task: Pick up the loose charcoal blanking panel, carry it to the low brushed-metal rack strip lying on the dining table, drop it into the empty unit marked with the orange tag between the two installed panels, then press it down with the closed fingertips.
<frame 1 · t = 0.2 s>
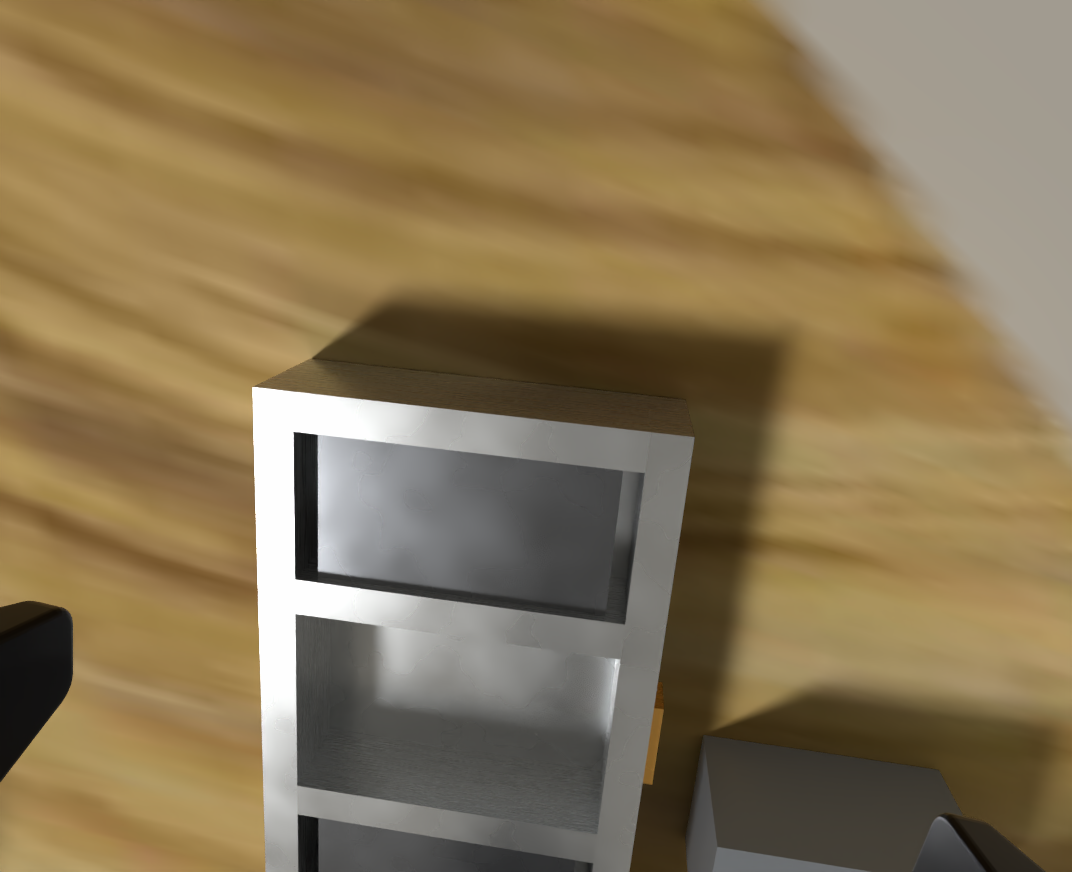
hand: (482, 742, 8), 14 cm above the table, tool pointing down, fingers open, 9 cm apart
panel: (806, 802, 24), on the table
rack: (475, 653, 24), on the table
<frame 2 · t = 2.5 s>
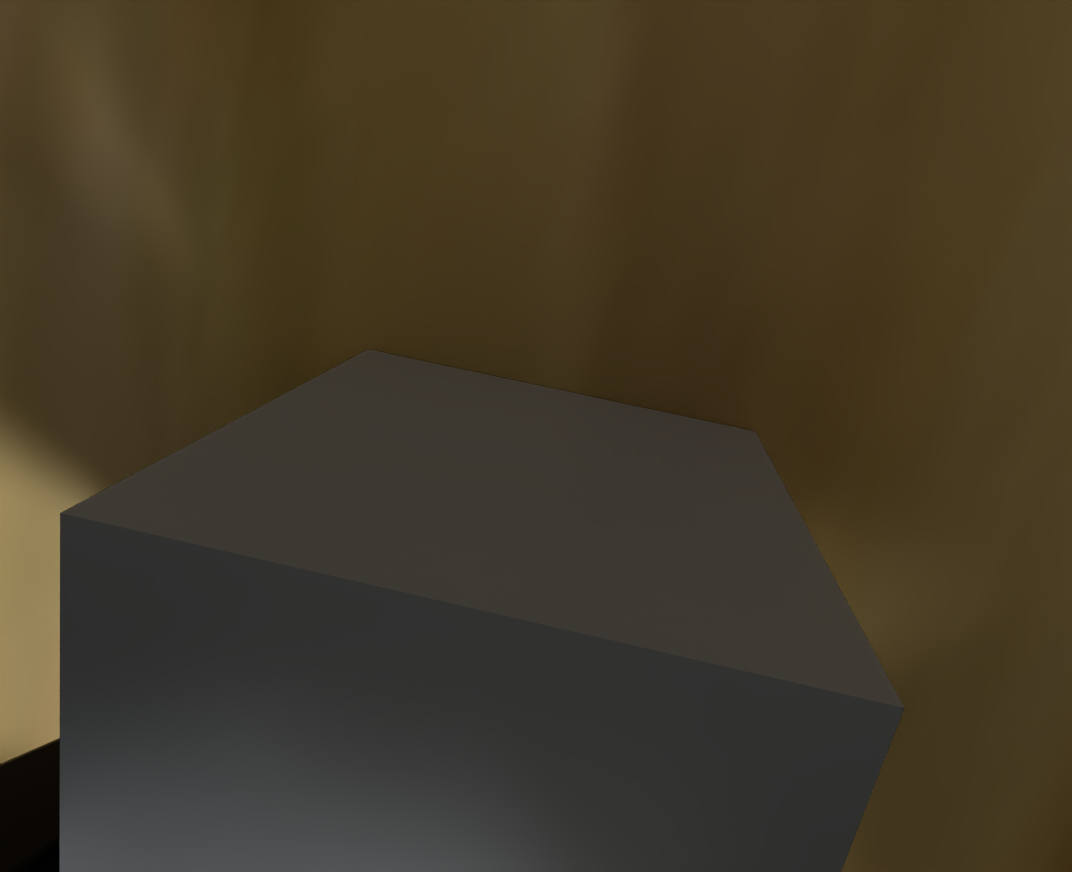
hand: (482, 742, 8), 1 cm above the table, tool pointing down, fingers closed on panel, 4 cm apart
panel: (499, 681, 9), on the table, touching gripper
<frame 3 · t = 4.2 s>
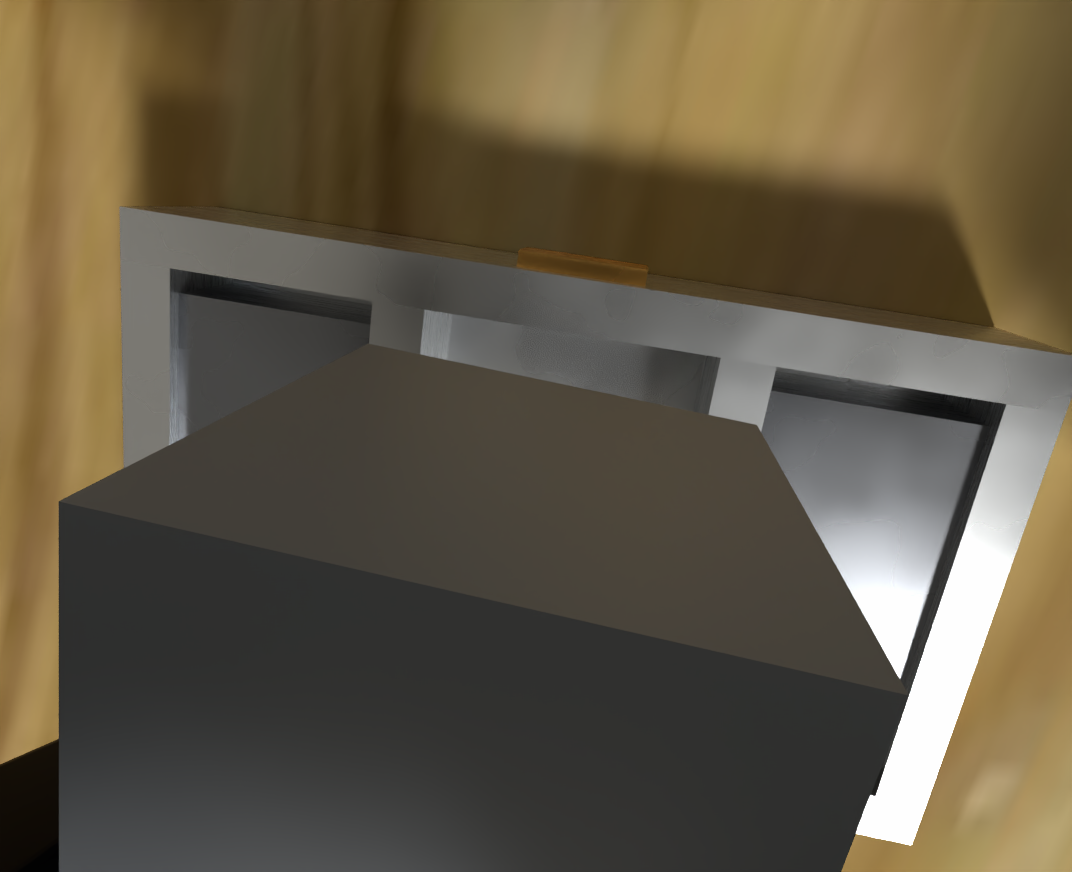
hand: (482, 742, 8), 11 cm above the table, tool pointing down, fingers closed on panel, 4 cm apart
panel: (500, 677, 9), point 10 cm above the table, touching gripper
rack: (555, 484, 19), on the table
when the fingers open (3 cm above the table, at t = 6.0 s): panel drops 1 cm, resting on rack.
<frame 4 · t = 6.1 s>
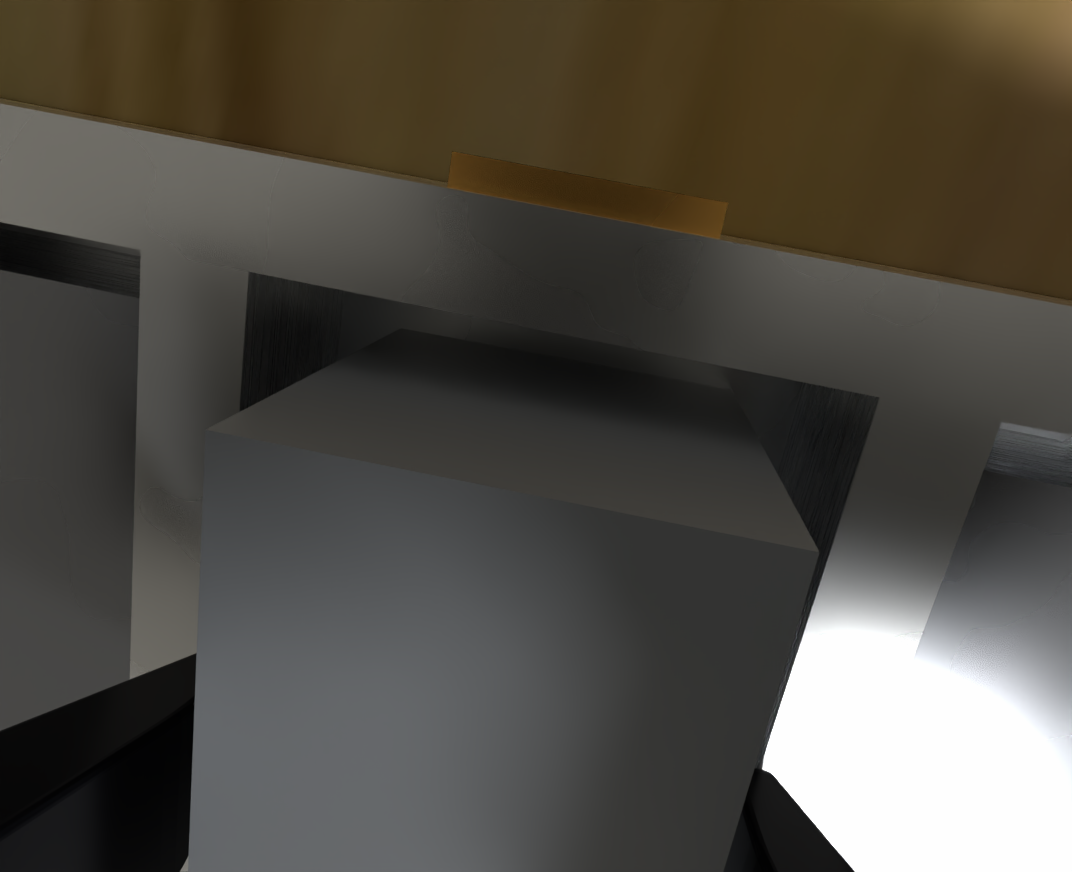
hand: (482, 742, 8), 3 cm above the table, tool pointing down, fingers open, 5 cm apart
panel: (518, 616, 10), point 1 cm above the table, touching rack
rack: (524, 583, 11), on the table
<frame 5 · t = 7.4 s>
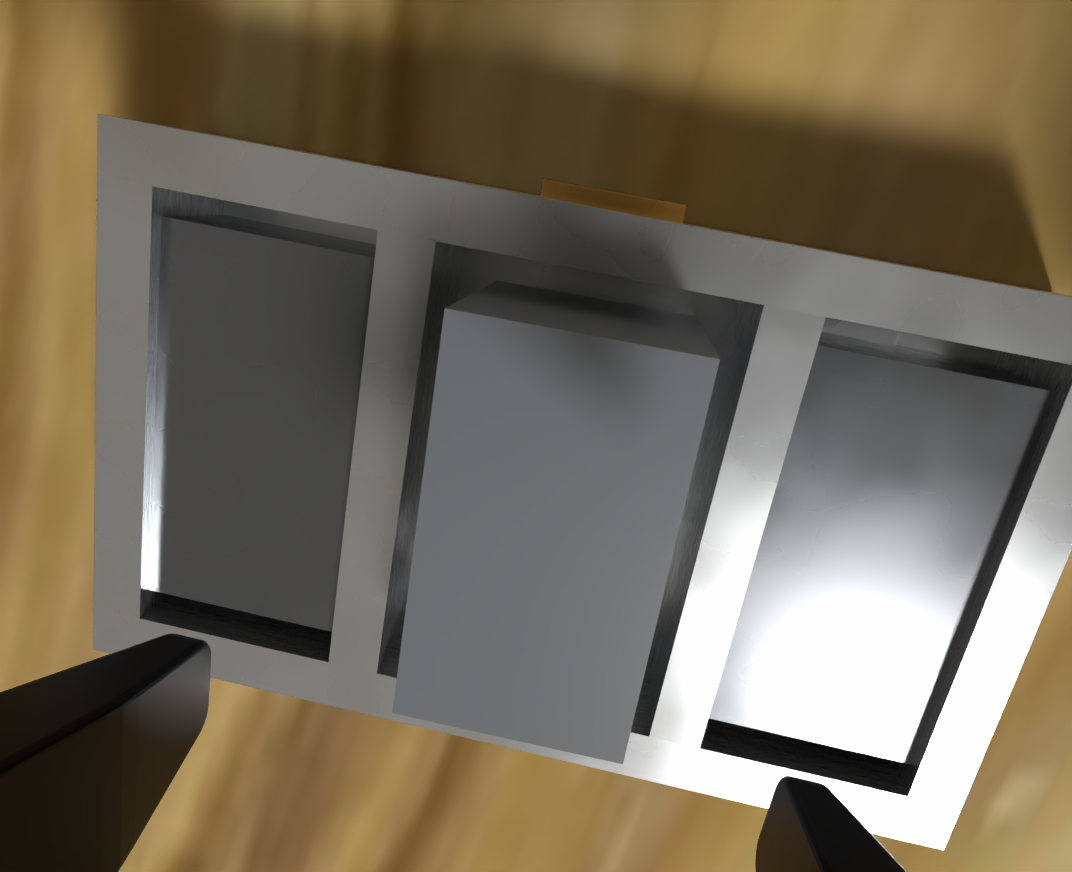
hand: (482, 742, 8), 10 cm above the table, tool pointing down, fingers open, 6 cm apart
panel: (564, 463, 16), point 1 cm above the table, touching rack
rack: (566, 450, 17), on the table
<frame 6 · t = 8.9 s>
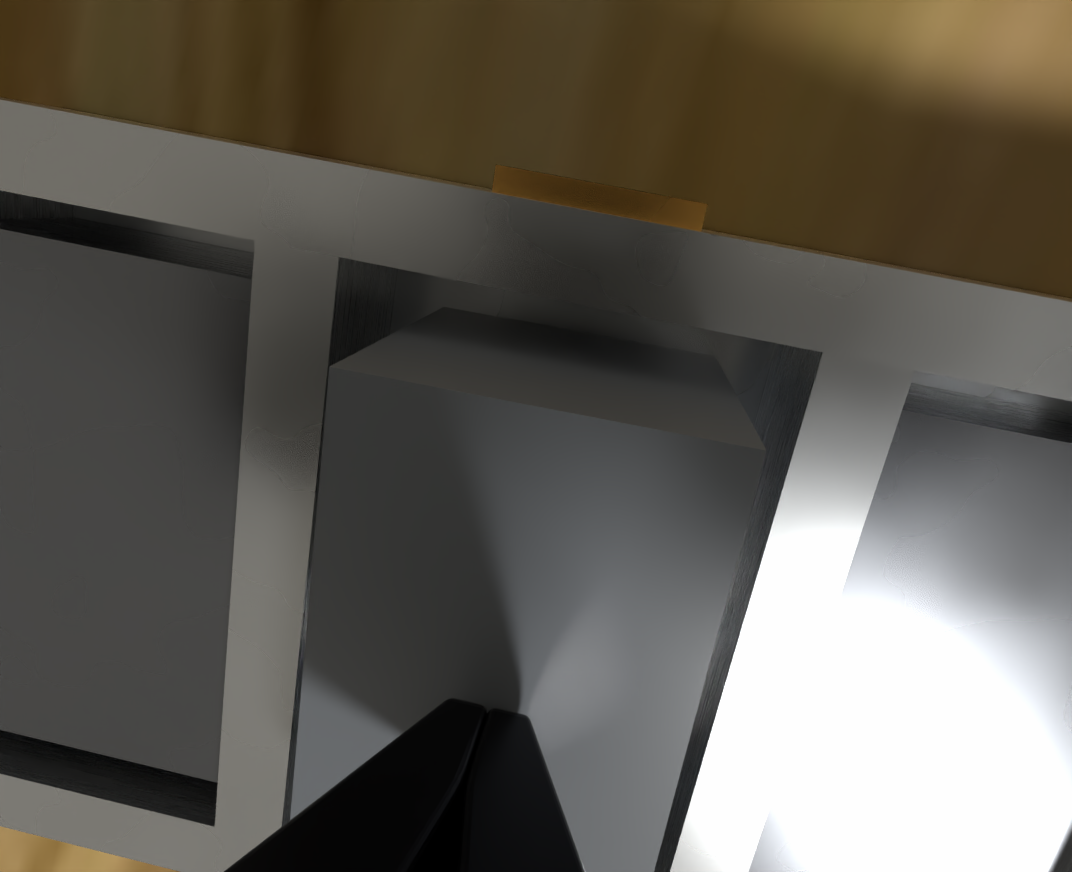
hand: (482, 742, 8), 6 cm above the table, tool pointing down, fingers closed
panel: (538, 548, 12), point 1 cm above the table, touching rack
rack: (542, 526, 13), on the table
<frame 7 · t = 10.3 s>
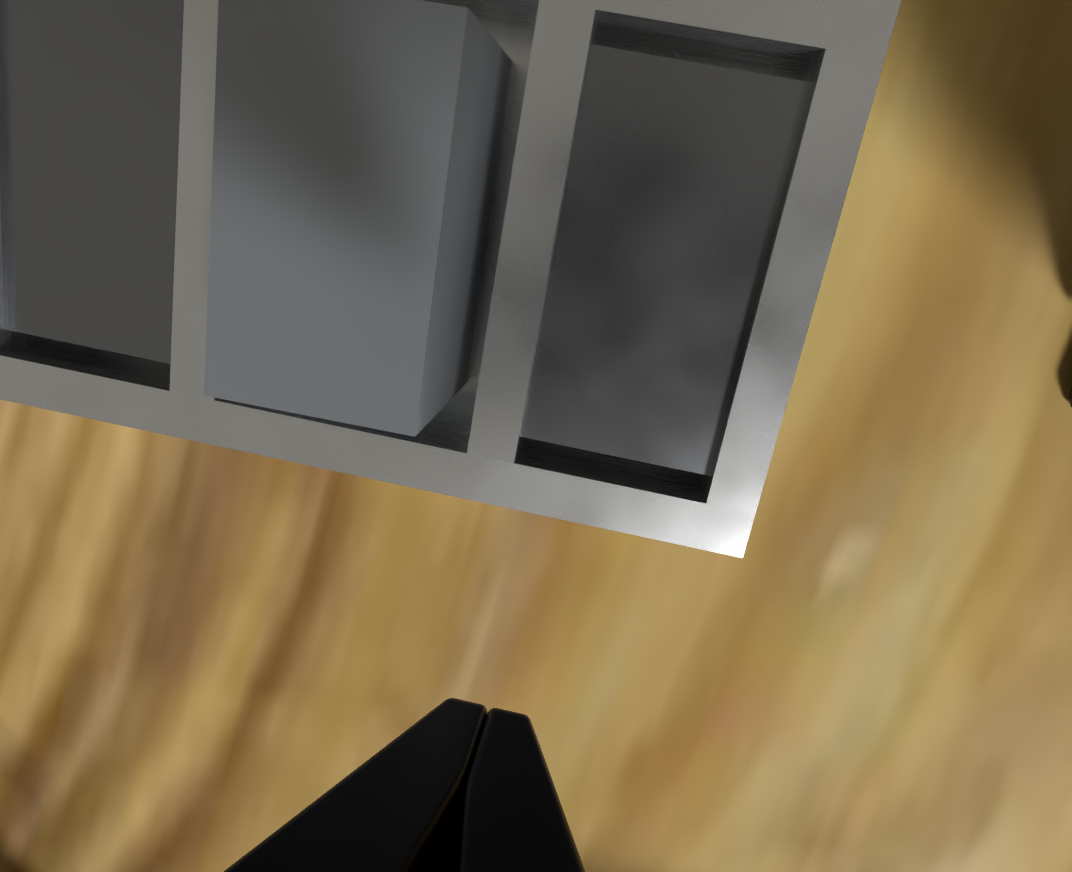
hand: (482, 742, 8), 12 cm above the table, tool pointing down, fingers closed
panel: (400, 215, 17), point 1 cm above the table, touching rack
rack: (410, 217, 18), on the table
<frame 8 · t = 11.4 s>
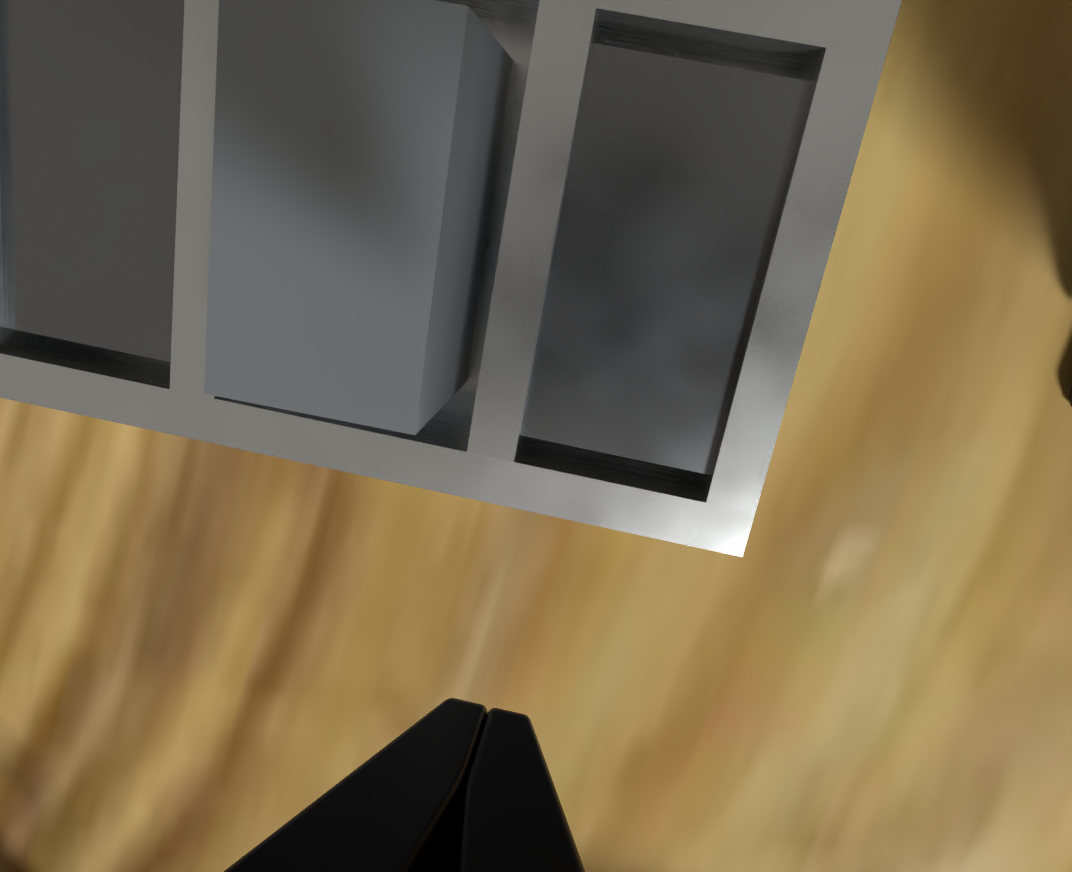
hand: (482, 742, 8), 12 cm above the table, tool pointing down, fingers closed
panel: (400, 214, 17), point 1 cm above the table, touching rack
rack: (411, 215, 18), on the table
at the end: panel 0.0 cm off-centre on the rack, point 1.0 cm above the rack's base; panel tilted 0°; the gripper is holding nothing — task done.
